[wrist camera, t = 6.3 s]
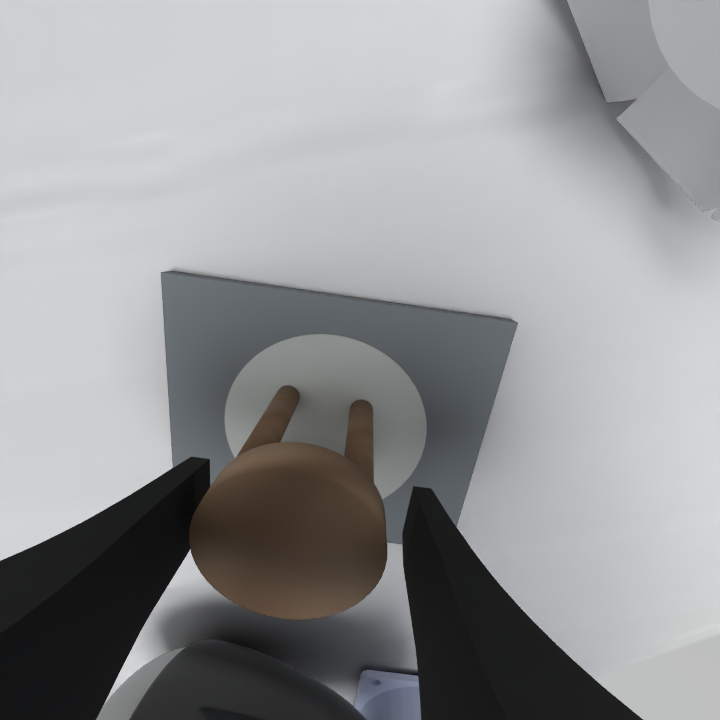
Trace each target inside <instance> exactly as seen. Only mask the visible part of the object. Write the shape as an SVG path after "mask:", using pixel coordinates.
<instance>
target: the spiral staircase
mask: <svg viewBox="0 0 720 720" xmlns="http://www.w3.org/2000/svg"><path fill="white" fill-rule="evenodd" d="M567 2H568V4H569V7H570V9H571V12H572V14H573V17H574V20H575V22H576V25H577V27H578V30H579V33H580V35H581V38H582V40H583V43H584V45H585V48H586V51H587V53H588V56H589V58H590V61H591V64H592V66H593V69H594V71H595V74H596V76H597V79H598V82H599V84H600V87H601V89H602V92H603V94H604V97H605V100H606V102H607V103H609V102H617V101H625V100H633V99H637V100H636V101H635V102H633V103H632V104H631V105H630V106H629V107H628V108H627V109H626V110H625V111H624V112H623V113H622V114H621V115H620V116H619V117H618V118H617V120H618V121H619V123H620V124H621V125H622V126H623V127H624V128H625V129H626V130H627V131H628V132H629V133H630V134H631V135H632V137H633V138H634V139H635V140H636V141H637V142H638V143H639V144H640V145H641V146H642V147H643V148H644V150H645V151H646V152H647V153H648V154H649V155H650V156H651V157H652V158H653V159H654V160H655V161H656V162H657V164H658V165H659V166H660V167H661V168H662V169H663V170H664V171H665V172H666V173H667V174H668V175H669V176H670V178H671V179H672V180H673V181H674V182H675V183H676V184H677V185H678V186H679V187H680V188H681V189H682V191H683V192H684V193H685V194H686V195H687V196H688V197H689V198H690V199H691V200H692V201H693V202H694V203H695V205H696V206H697V207H698V208H699V209H700V210H701V211H702V212H704V211H707V210H711V209H714V208H717V209H716V211H715V212H714V214H713V216H712V217H711V218H713V219H715V220H716V221H718V222H720V0H567Z"/></svg>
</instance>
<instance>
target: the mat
mask: <svg viewBox="0 0 720 720" xmlns="http://www.w3.org/2000/svg"><path fill="white" fill-rule="evenodd" d="M161 283H162V300H163V316H164V332H165V348H166V364H167V380H168V396H169V413H170V429H171V445H172V461H173V468H174V467H175V466H177V465H178V464H180V463H182V462H183V461H185V460H186V459H188V458H190V457H199V458H206V459H210V487H211V485H212V484H213V482H214V481H215V479H216V478H217V476H218V475H219V473H220V472H221V471H222V469H223V468H224V467H225V466H226V465H227V464H228V463H229V462H230V461H232V460H233V459H234V458H236V456H237V455H238V453H239V452H240V450H241V448H242V447H243V445H244V444H245V442H246V440H247V439H248V437H249V436H250V434H251V433H252V431H253V429H254V428H255V426H256V425H257V423H258V421H259V420H260V418H261V417H262V415H263V413H264V412H265V410H266V409H267V407H268V405H269V404H270V402H271V401H272V399H273V397H274V396H275V394H276V393H277V391H278V390H279V388H280V387H282V386H285V385H290V386H293V387H295V388H296V389H297V390H298V391H299V394H300V400H299V402H298V404H297V406H296V409H295V411H294V413H293V415H292V417H291V420H290V422H289V424H288V426H287V429H286V431H285V433H284V435H283V437H282V440H281V442H300V443H307V444H313V445H317V446H321V447H324V448H327V449H329V450H332V451H335V452H337V453H339V454H340V455H342V456H344V453H345V445H346V437H347V429H348V421H349V412H350V406H351V404H352V403H353V402H354V401H356V400H360V399H362V400H366V401H368V402H370V404H371V405H372V407H373V447H374V484H375V486H376V487H377V489H378V491H379V493H380V495H381V497H382V501H383V504H384V509H385V517H386V536H387V542H388V543H396V544H403V543H402V532H403V527H404V523H405V519H406V515H407V510H408V506H409V502H410V497H411V493H412V489H413V486H417V487H424V488H431V489H432V490H433V491H434V493H435V495H436V496H437V498H438V499H439V501H440V503H441V504H442V506H443V507H444V509H445V510H446V512H447V514H448V515H449V517H450V518H451V520H452V521H453V523H454V524H455V526H457V523H458V520H459V516H460V513H461V510H462V506H463V503H464V500H465V496H466V493H467V490H468V486H469V483H470V480H471V476H472V473H473V470H474V467H475V463H476V460H477V457H478V453H479V450H480V447H481V443H482V440H483V437H484V433H485V430H486V427H487V424H488V420H489V417H490V414H491V410H492V407H493V404H494V400H495V397H496V394H497V390H498V387H499V384H500V380H501V377H502V374H503V371H504V367H505V364H506V361H507V357H508V354H509V351H510V347H511V344H512V341H513V337H514V334H515V331H516V327H517V324H518V323H517V322H515V321H513V320H510V319H503V318H496V317H489V316H482V315H475V314H468V313H461V312H454V311H447V310H440V309H433V308H426V307H419V306H412V305H405V304H398V303H391V302H384V301H376V300H369V299H362V298H355V297H348V296H341V295H334V294H327V293H320V292H313V291H306V290H299V289H292V288H285V287H278V286H271V285H264V284H257V283H250V282H243V281H236V280H229V279H222V278H215V277H208V276H201V275H194V274H187V273H180V272H173V271H167V272H161Z"/></svg>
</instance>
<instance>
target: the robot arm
mask: <svg viewBox="0 0 720 720" xmlns="http://www.w3.org/2000/svg"><path fill="white" fill-rule="evenodd" d="M209 488H210V459H206V458H199V457H190V458H188V459H186V460H185V461H183V462H182V463H180V464H178V465H177V466H175V467H174V468H172V469H171V470H169V471H168V472H166V473H164V474H163V475H161V476H160V477H158V478H157V479H155V480H153V481H152V482H150V483H149V484H147V485H145V486H144V487H142V488H141V489H139V490H137V491H136V492H134V493H133V494H131V495H129V496H128V497H126V498H124V499H123V500H121V501H119V502H117V503H116V504H114V505H112V506H110V507H109V508H107V509H105V510H103V511H102V512H100V513H98V514H96V515H95V516H93V517H91V518H89V519H87V520H86V521H84V522H82V523H80V524H78V525H76V526H74V527H72V528H70V529H68V530H66V531H64V532H62V533H60V534H58V535H56V536H54V537H52V538H50V539H48V540H46V541H44V542H42V543H40V544H38V545H36V546H33V547H31V548H29V549H27V550H24V551H22V552H20V553H17V554H15V555H13V556H11V557H8V558H6V559H4V560H1V561H0V720H96V719H97V717H98V715H99V713H100V711H101V709H102V707H103V705H104V703H105V701H106V699H107V697H108V695H109V693H110V691H111V689H112V687H113V685H114V682H115V680H116V678H117V676H118V674H119V672H120V670H121V668H122V666H123V664H124V662H125V661H126V659H127V657H128V655H129V653H130V651H131V649H132V647H133V645H134V643H135V641H136V639H137V637H138V635H139V633H140V631H141V629H142V628H143V626H144V624H145V622H146V621H147V619H148V617H149V615H150V614H151V612H152V610H153V609H154V607H155V605H156V604H157V602H158V601H159V599H160V597H161V596H162V594H163V592H164V591H165V589H166V588H167V586H168V584H169V583H170V581H171V580H172V578H173V576H174V575H175V573H176V571H177V570H178V568H179V567H180V565H181V563H182V562H183V560H184V558H185V557H186V555H187V554H188V552H189V550H190V544H189V530H190V524H191V520H192V517H193V514H194V512H195V510H196V509H197V507H198V505H199V503H200V502H201V500H202V499H203V497H204V496H205V494H206V493H207V491H208V490H209ZM402 543H403V566H404V573H405V580H406V587H407V594H408V600H409V607H410V614H411V620H412V627H413V634H414V640H415V647H416V656H417V665H418V676H416V675H408V674H400V673H392V672H384V671H376V670H364V671H363V672H362V673H361V675H360V680H359V684H358V689H357V693H356V698H355V703H354V707H355V708H356V709H357V710H358V711H359V712H360V713H361V714H362V715H363V716H364V717H365V718H366V719H367V720H643V719H641V718H640V717H639V716H638V715H636V714H635V713H634V712H633V711H632V710H630V709H629V708H628V707H627V706H625V705H624V704H623V703H622V702H621V701H619V700H618V699H617V698H616V697H615V696H613V695H612V694H611V693H610V692H608V691H607V690H606V689H605V688H604V687H602V686H601V685H600V684H599V683H598V682H597V681H596V680H595V679H594V678H592V677H591V676H590V675H589V674H588V673H587V672H586V671H585V670H583V669H582V668H581V667H580V666H579V665H578V664H577V663H576V662H575V661H573V660H572V659H571V658H570V657H569V656H568V655H567V654H566V653H565V652H564V651H563V650H562V649H561V648H560V647H558V646H557V645H556V644H555V643H554V642H553V641H552V640H551V639H550V638H549V637H548V636H547V635H546V634H545V633H544V632H543V631H542V630H541V629H540V628H539V627H538V626H537V625H536V624H535V623H534V622H533V621H532V620H531V619H530V618H529V617H528V616H527V614H526V613H525V612H524V611H523V610H522V609H521V608H520V607H519V606H518V605H517V604H516V603H515V601H514V600H513V599H512V598H511V597H510V596H509V595H508V594H507V592H506V591H505V590H504V589H503V588H502V587H501V586H500V585H499V583H498V582H497V581H496V580H495V579H494V577H493V576H492V575H491V574H490V572H489V571H488V570H487V569H486V567H485V566H484V565H483V563H482V562H481V561H480V559H479V558H478V557H477V555H476V554H475V553H474V551H473V550H472V549H471V547H470V546H469V544H468V543H467V542H466V540H465V539H464V537H463V536H462V535H461V533H460V532H459V530H458V529H457V527H456V526H455V524H454V523H453V521H452V520H451V518H450V517H449V515H448V514H447V512H446V510H445V509H444V507H443V506H442V504H441V503H440V501H439V499H438V498H437V496H436V495H435V493H434V491H433V490H432V489H431V488H424V487H417V486H413V489H412V493H411V497H410V502H409V506H408V510H407V515H406V519H405V523H404V527H403V532H402Z"/></svg>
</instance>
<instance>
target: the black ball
mask: <svg viewBox="0 0 720 720" xmlns="http://www.w3.org/2000/svg"><path fill="white" fill-rule="evenodd" d="M96 720H367V719H366V718H365V717H364V716H363V715H362V714H361V713H360V712H359V711H358V710H357V709H356V708H355V707H354V706H353V705H352V704H351V703H349V702H348V701H347V700H346V699H344V698H343V697H342V696H340V695H339V694H338V693H336V692H335V691H334V690H332V689H331V688H329V687H328V686H326V685H324V684H323V683H321V682H319V681H318V680H316V679H314V678H312V677H311V676H309V675H307V674H305V673H303V672H301V671H300V670H298V669H296V668H294V667H292V666H290V665H288V664H286V663H284V662H282V661H280V660H278V659H275V658H273V657H271V656H268V655H266V654H263V653H261V652H258V651H255V650H252V649H249V648H246V647H243V646H240V645H237V644H234V643H231V642H226V641H221V640H214V639H202V640H198V641H195V642H193V643H191V644H190V645H188V646H187V647H183V648H179V649H176V650H173V651H170V652H168V653H165V654H163V655H161V656H159V657H157V658H155V659H154V660H152V661H150V662H149V663H147V664H146V665H144V666H143V667H142V668H140V669H139V670H138V671H136V672H135V673H134V674H133V675H132V676H130V677H129V678H128V679H127V680H126V681H125V682H124V683H123V684H122V685H121V686H120V687H119V688H118V689H117V690H116V691H115V693H114V694H113V695H112V696H111V697H110V698H109V700H108V701H107V702H106V703H105V704H104V706H103V707H102V709H101V711H100V713H99V715H98V717H97V719H96Z"/></svg>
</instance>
